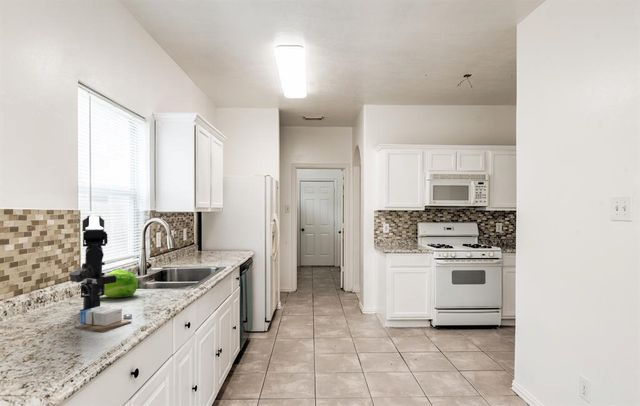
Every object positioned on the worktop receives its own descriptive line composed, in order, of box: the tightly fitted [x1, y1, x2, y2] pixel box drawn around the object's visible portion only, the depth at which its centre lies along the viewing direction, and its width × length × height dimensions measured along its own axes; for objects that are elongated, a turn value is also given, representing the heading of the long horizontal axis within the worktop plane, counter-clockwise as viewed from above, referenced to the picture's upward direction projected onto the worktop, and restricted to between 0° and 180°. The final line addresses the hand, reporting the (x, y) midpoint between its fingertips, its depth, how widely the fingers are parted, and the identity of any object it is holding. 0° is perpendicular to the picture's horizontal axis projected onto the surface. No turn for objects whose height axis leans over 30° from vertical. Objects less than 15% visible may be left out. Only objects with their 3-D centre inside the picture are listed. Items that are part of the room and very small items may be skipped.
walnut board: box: [74, 319, 132, 333], centre depth 144 cm, size 14×13×1 cm
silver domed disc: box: [122, 313, 133, 320], centre depth 154 cm, size 3×3×1 cm
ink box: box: [79, 305, 123, 326], centre depth 146 cm, size 9×5×12 cm
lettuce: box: [100, 269, 139, 298], centre depth 192 cm, size 15×22×15 cm
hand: (92, 300), depth 147 cm, fingers closed
